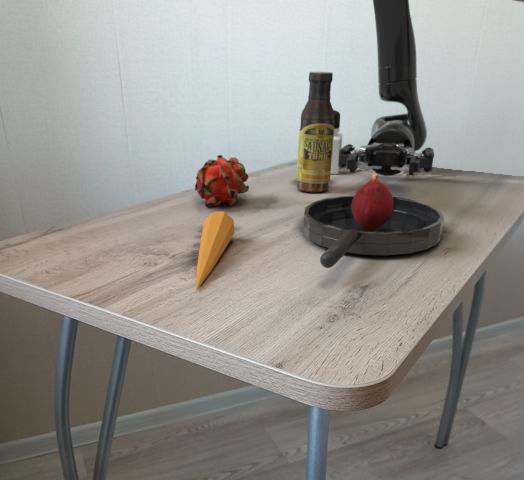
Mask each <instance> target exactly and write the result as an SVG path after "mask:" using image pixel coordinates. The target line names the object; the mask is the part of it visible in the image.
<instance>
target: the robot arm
mask: <svg viewBox="0 0 524 480" xmlns="http://www.w3.org/2000/svg"><path fill="white" fill-rule="evenodd" d="M409 1H410V0H372V5H373V13H374V21H375V33H376V53H377V83H378V85H377V86H378V97H379V99H380V100H381V101H382V102H386V103H397V104H400V105H402V106H403V107H404V108H405V110H406V113H399V114H392V115H384V116H380V117H377V118H376V119H375V120H374V121H373V123H372V126H371V129H370V139H369V141H368V143H367V145H361V146H359V149H356V148H355V147H356V146H354V145H353V144H351V143H348V144H345V146H342V149H340V150H339V164H338V167H340V169H343V168H345V169H346V170H349V173H352V174H353V173H354V174H355V173H356V172H357V170H358V169H360V170H363V171H368V170H372V171H373V172H374V173H375V174H377V175H381V176H385V177H391V176H392V177H393V176H396V175H398V174H400V173H402V172H403V173H408V176H409V177H410V176H411V177H413V176H414V174H418V173H419V172H420V170H421V169H423V171H424V172H426V173H430V172H432V171H433V163H434V158H435V151H434V148H431V147H426V148H424V149H422V148H423V147H424V145H425V143H426V141H427V137H428V131H427V130H428V129H427V125H426V121H425V118H424V115H423V112H422V107H421V104H420V100H419V99H420V98H419V93H418V81H417V79H418V76H417V74H418V73H417V71H418V69H417V68H418V67H417V63H418V62H417V44H416V38H415V31H414V27H413V22H412V16H411V9H410V3H409ZM512 1H514V2H518V3H524V0H512ZM419 150H421V152H417V151H419Z"/></svg>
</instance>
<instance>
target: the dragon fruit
mask: <svg viewBox="0 0 524 480" xmlns="http://www.w3.org/2000/svg"><path fill="white" fill-rule="evenodd" d="M248 179H249V174H248V173H247V171H246V168H245V165H244V164H243V163H242V162H239V160H238V158H237V157H234V156H233V157H230V158H229V159H227V158H226V157H224V156H223V155H222V154H218V155H216V159H207V161H206V162H205V163H204V165H203V166H202V167H200V169H198V171H197V173H196V179H195V180H196V181H195V185H194V191H196V192H197V194H198V196H199V197H200V198H201V199H202V200H203V199H204V200H205V204H204V207H206V208H208V207H214V206H215V207H218V206H219V205H220V204H222V203H224V202H225V203H226V204H228V205H229V206H233V205H234V204H235V203H237V202H238V200H239V199H238V196H239V195H240V194H245V193H247V192H248V191H249V189H250V186H249V185H246V184H245V183H246V182H247V181H248Z"/></svg>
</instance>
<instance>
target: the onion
mask: <svg viewBox="0 0 524 480" xmlns="http://www.w3.org/2000/svg"><path fill="white" fill-rule="evenodd" d="M393 197H394V196H393V194H392V192H391V191H390V189H389V188H388V186H387V185H385V184H384V183H383V182H381V180H380V176H379V174H377V173H374V174H372V175H371V177H370V178H369V181H368V182H366V183H364V184H363V185H362V186H360V187H359V188H358V190H357V191H356V192H355V194H354V198H353V200H352V205H351V209H352V214H353V216H354V218H355V220H356V221H357V223H358V224H359V225H360V226H361V227H363V228H364V229H365V230H366V231H369V232H372V231H374V230H376V229H377V228H379V227H380V226H382V225H383V224H384V223H385V222H387V221H388V219H389V218H390V216H391V214H392V211H393V206H394V201H393Z"/></svg>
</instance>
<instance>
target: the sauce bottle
mask: <svg viewBox="0 0 524 480" xmlns="http://www.w3.org/2000/svg"><path fill="white" fill-rule="evenodd" d="M333 74H334V73H333V72H332V71H309V73H308V82H309V88H308V96H307V98H308V99H307V101H306V104H305V105H304V107H303V109H302V111H301V114H300V126H299V134H298V149H297V162H296V163H297V166H296V180H297V181H296V188H297V190H299V191H301V192H305V193H324V192H326V191H328V188H329V184H330V182H331V174H330V172H331V161H332V150H333V138H334V110H335V109H334V108H333V106H332V103H331V90H332V89H331V87H332V82H333V78H334V77H333V76H334V75H333Z"/></svg>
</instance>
